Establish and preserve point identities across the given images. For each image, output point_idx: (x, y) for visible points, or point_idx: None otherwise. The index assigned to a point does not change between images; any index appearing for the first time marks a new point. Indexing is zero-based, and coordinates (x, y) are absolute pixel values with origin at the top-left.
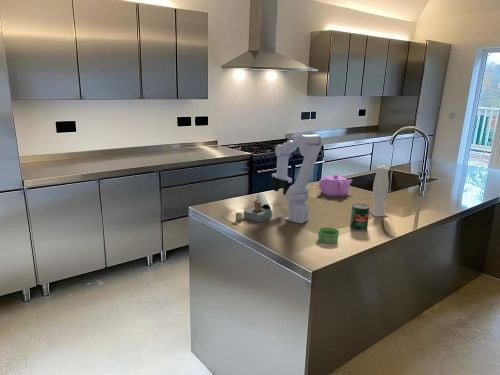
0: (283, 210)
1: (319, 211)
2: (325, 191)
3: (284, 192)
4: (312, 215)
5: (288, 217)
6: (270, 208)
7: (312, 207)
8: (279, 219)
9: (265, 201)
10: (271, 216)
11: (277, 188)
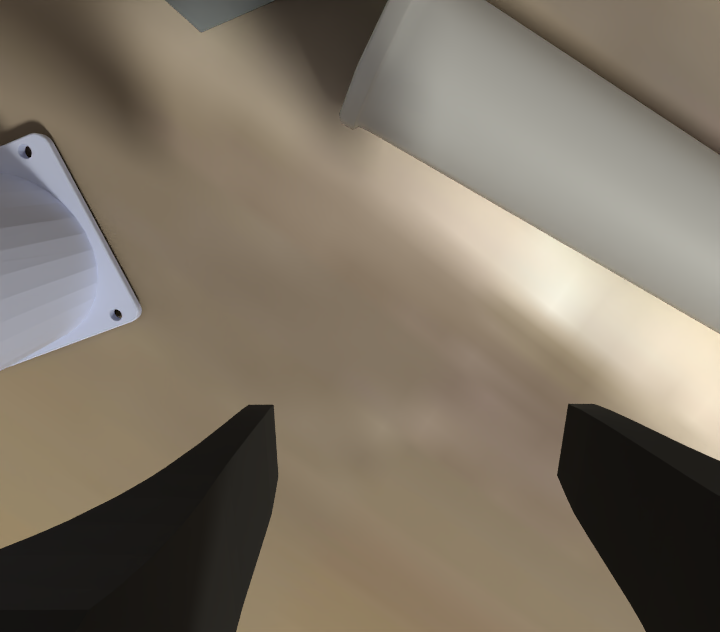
0: (351, 338)
1: None
2: None
3: (217, 430)
4: (79, 488)
5: (28, 184)
6: (339, 113)
7: (287, 625)
8: (81, 76)
9: (544, 150)
10: (198, 29)
11: (593, 494)
